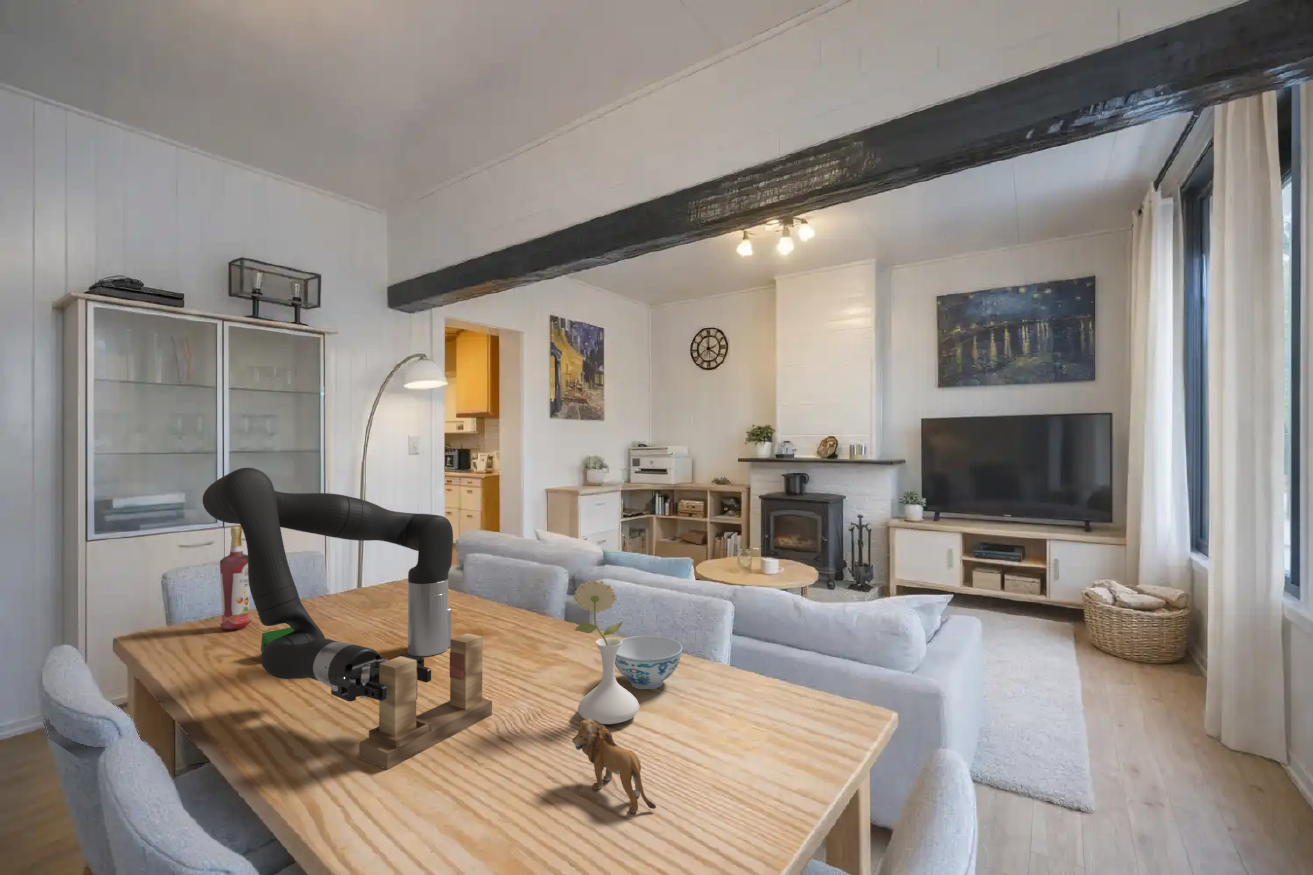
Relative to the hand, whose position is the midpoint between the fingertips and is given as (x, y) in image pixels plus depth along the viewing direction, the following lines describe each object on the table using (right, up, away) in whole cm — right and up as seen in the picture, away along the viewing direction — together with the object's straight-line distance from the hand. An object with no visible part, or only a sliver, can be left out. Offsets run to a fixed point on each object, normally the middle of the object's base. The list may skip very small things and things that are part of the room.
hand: (408, 684), depth 98 cm
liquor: (-75, -12, +67) cm, 101 cm away
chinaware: (+39, -12, +28) cm, 49 cm away
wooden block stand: (+2, -11, +6) cm, 13 cm away
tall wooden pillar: (-2, -9, 0) cm, 9 cm away
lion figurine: (+34, -11, -12) cm, 38 cm away
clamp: (-47, -12, +47) cm, 68 cm away
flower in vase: (+31, -11, +13) cm, 36 cm away
